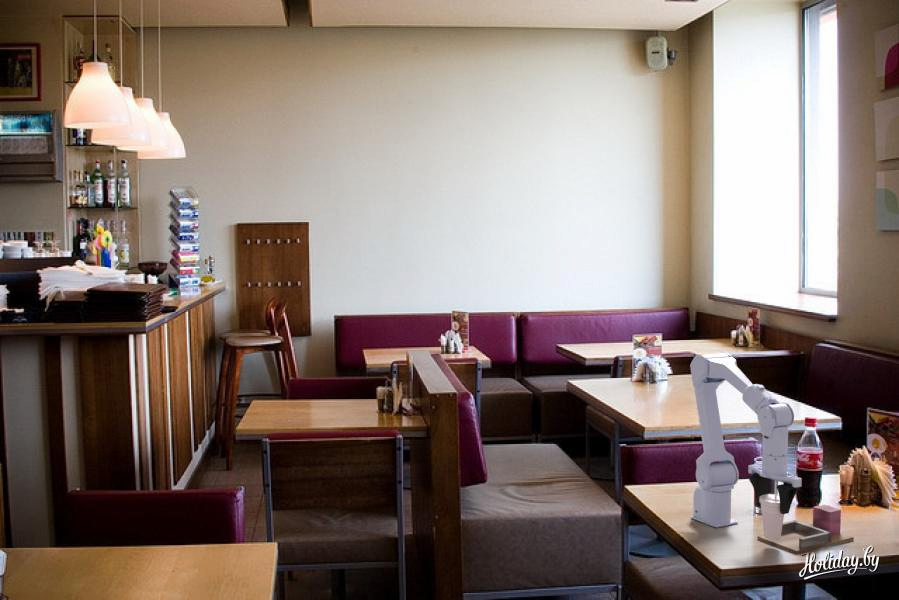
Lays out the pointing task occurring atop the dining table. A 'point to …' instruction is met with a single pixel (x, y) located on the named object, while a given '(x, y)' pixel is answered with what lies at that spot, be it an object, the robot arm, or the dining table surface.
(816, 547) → the open-sided grey tray
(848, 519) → the dining table surface
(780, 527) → the smoothie
